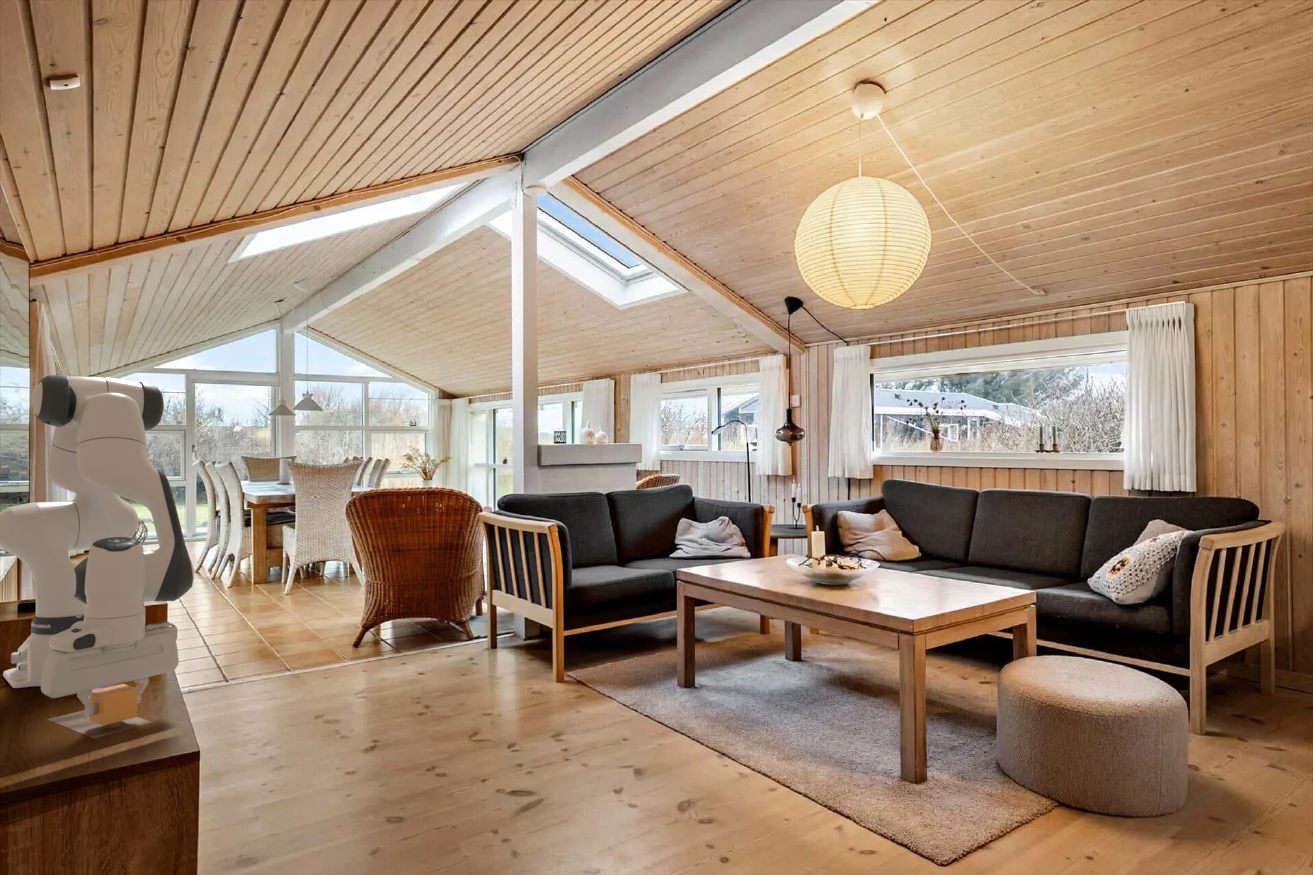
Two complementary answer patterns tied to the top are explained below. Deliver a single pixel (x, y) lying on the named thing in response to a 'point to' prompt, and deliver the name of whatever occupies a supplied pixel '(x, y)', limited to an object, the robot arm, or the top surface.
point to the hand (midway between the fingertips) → (113, 709)
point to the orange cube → (114, 704)
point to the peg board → (95, 724)
